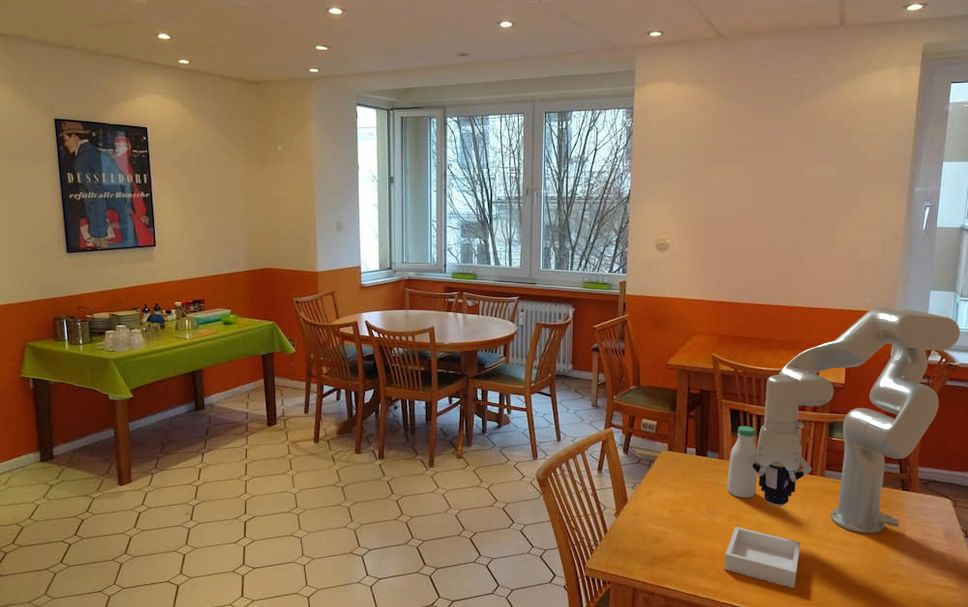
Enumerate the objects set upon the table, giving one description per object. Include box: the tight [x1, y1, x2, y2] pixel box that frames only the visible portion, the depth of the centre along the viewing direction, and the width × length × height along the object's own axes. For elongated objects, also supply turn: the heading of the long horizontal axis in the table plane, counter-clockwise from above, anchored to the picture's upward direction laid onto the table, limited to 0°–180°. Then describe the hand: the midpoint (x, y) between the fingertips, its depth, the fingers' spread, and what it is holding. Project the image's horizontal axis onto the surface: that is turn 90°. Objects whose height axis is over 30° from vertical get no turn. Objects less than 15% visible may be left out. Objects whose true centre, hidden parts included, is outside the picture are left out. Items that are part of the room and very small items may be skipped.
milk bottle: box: [727, 425, 758, 499], centre depth 195 cm, size 8×8×20 cm
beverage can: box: [763, 461, 790, 507], centre depth 170 cm, size 6×6×12 cm
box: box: [724, 526, 801, 589], centre depth 159 cm, size 15×15×4 cm
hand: (776, 490), depth 170 cm, fingers closed on beverage can, 5 cm apart
